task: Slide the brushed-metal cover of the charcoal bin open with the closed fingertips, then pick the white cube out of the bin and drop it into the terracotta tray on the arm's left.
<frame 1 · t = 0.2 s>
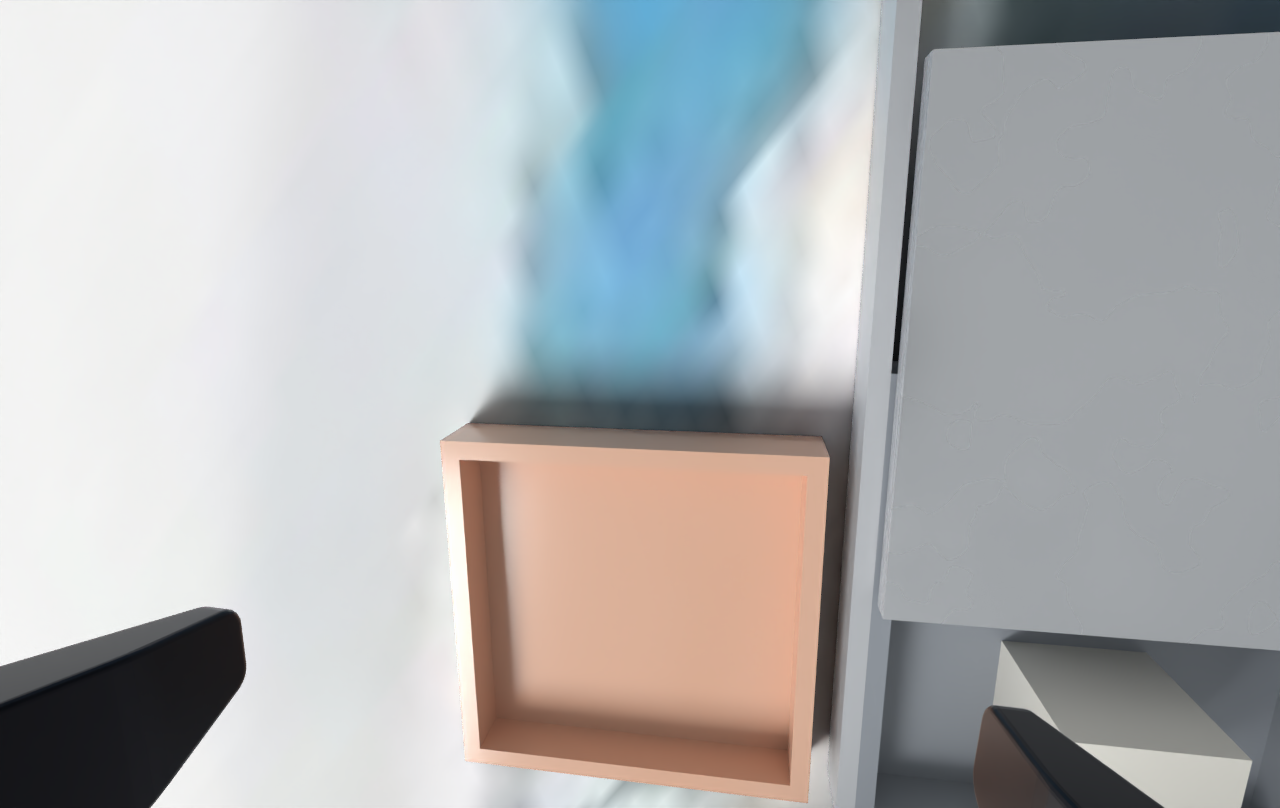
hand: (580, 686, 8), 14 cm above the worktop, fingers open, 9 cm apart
bin A: (1070, 596, 21), on the worktop
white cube: (1063, 704, 21), point 1 cm above the worktop, touching bin A
bin B: (638, 591, 24), on the worktop
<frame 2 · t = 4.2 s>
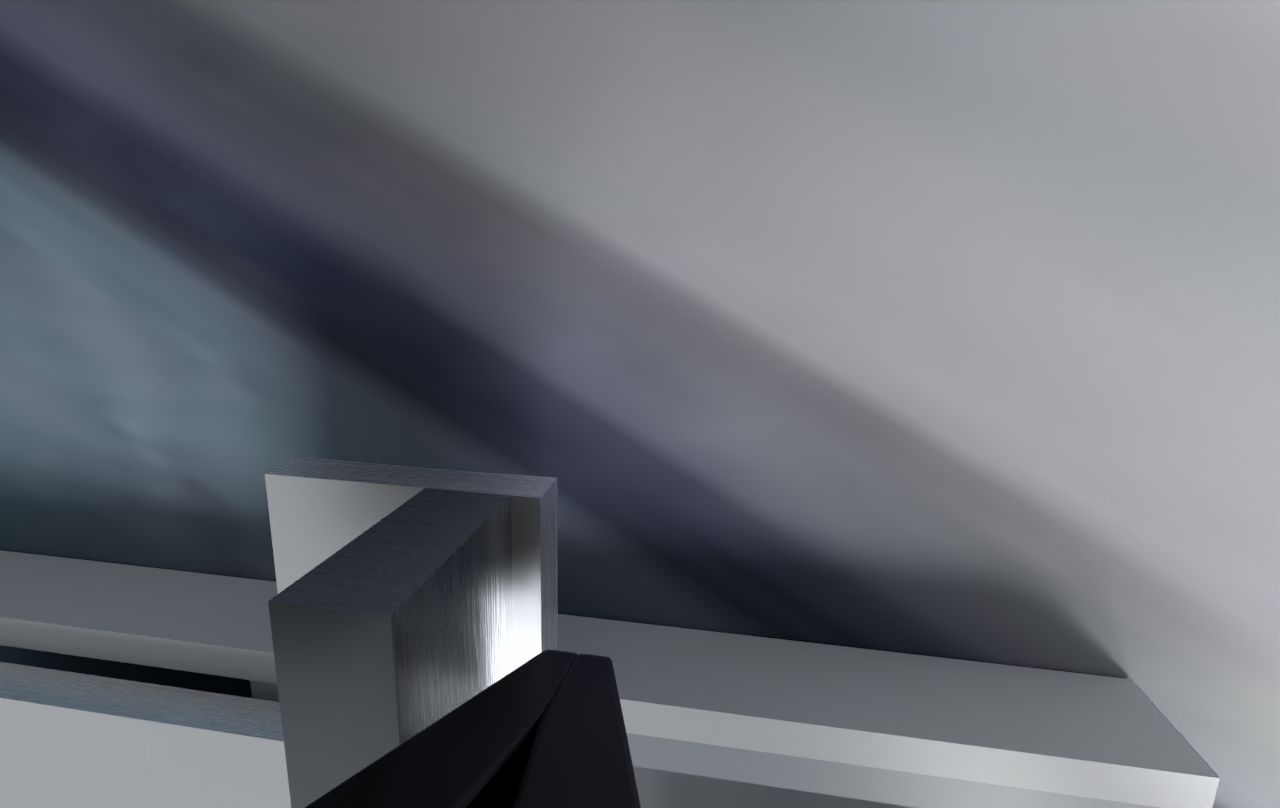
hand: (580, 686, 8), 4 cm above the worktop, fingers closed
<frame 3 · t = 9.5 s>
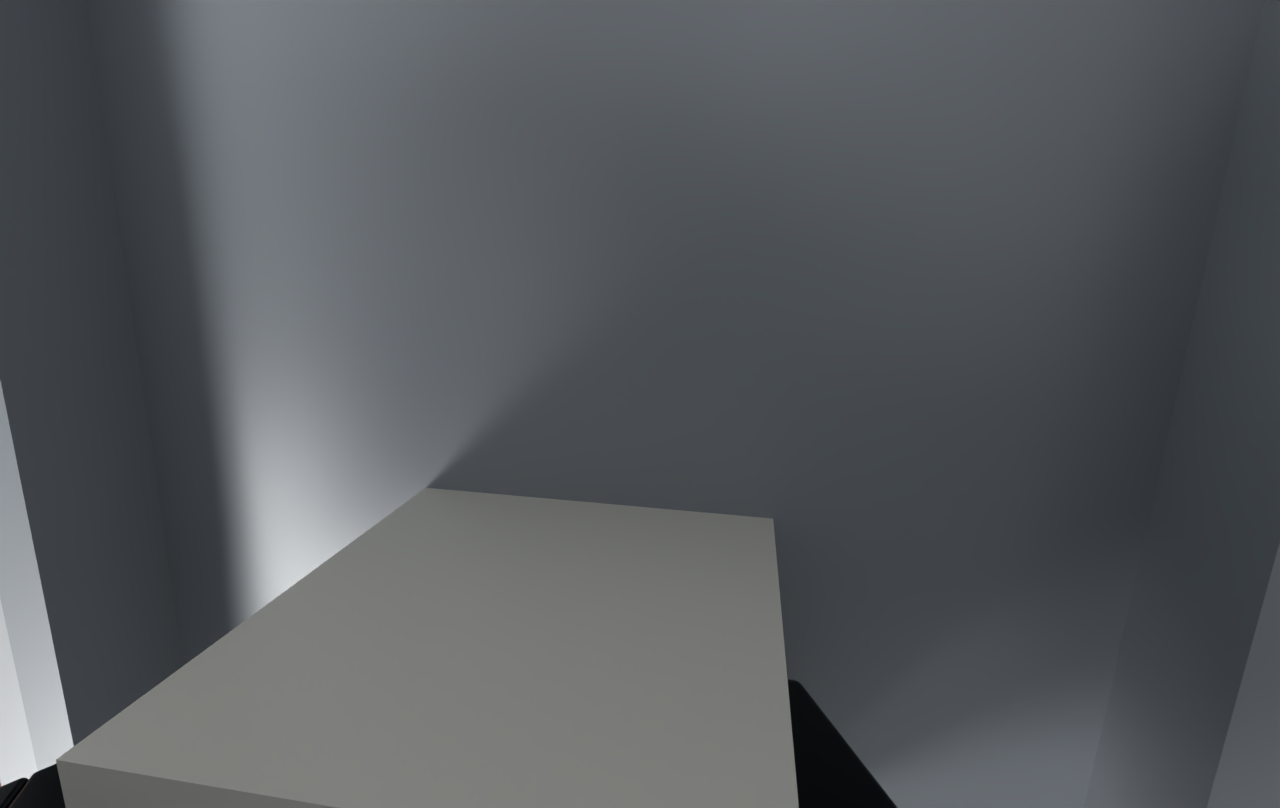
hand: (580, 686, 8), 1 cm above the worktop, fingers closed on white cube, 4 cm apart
bin A: (605, 376, 8), on the worktop
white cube: (590, 659, 8), point 1 cm above the worktop, touching bin A, gripper
when the fingers open (3 cm above the worktop, at t = 13.6 s): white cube drops 2 cm, resting on bin B.
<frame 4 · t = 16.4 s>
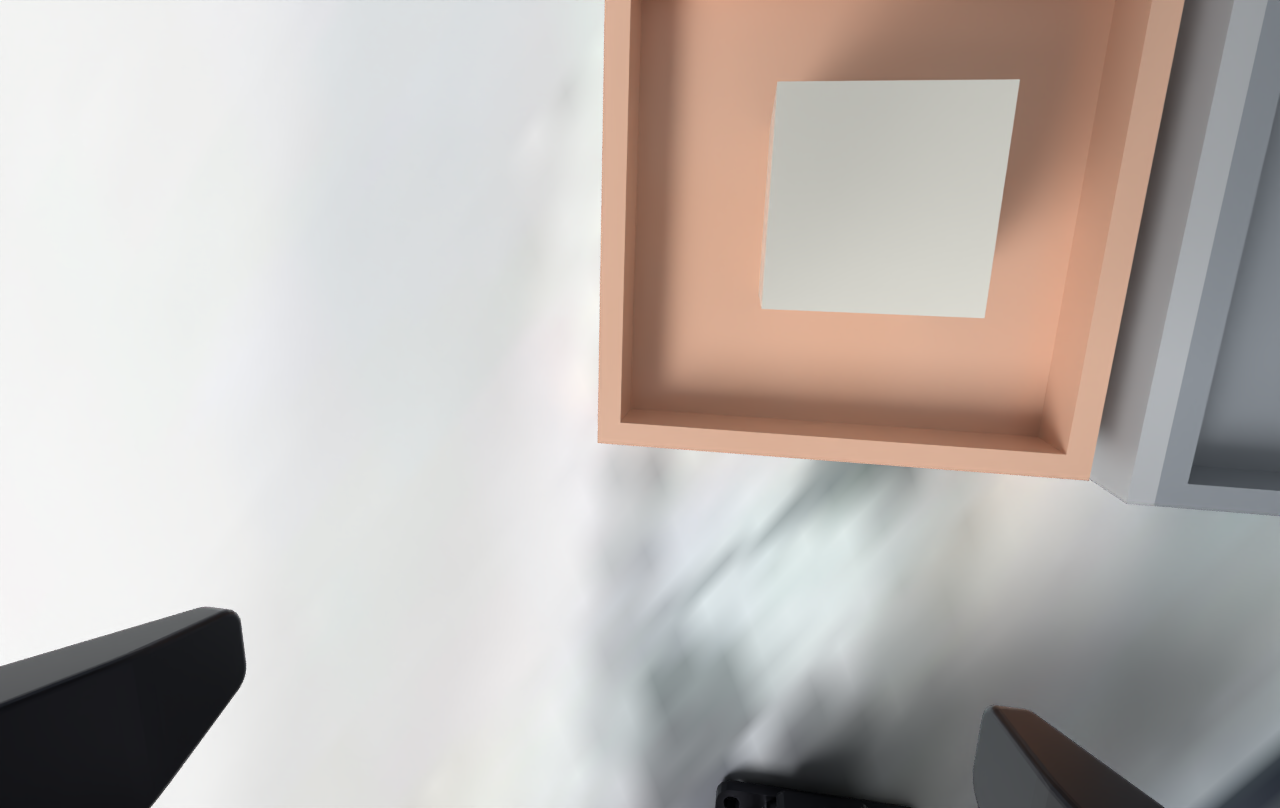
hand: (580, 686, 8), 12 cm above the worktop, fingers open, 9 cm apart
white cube: (847, 214, 17), point 1 cm above the worktop, touching bin B
bin B: (842, 217, 17), on the worktop
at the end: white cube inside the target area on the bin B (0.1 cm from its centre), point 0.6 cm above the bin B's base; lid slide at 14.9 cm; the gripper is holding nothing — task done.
